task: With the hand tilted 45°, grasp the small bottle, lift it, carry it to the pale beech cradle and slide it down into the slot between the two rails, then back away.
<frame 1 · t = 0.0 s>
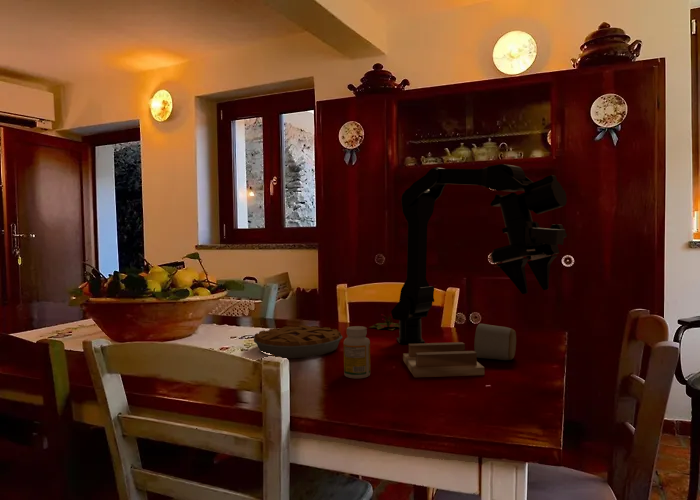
hand: (535, 291, 108), 15 cm above the table, tool pointing down, fingers open, 9 cm apart
beech cradle: (441, 367, 108), on the table
pie: (298, 350, 128), on the table
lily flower: (388, 329, 155), on the table
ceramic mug: (495, 358, 115), on the table
supplement bottle: (357, 376, 103), on the table
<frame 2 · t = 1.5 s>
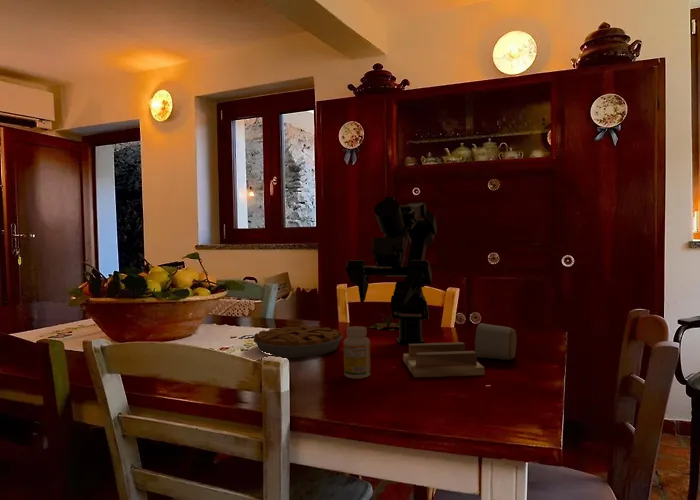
hand: (382, 303, 109), 14 cm above the table, tool tilted 40°, fingers open, 9 cm apart
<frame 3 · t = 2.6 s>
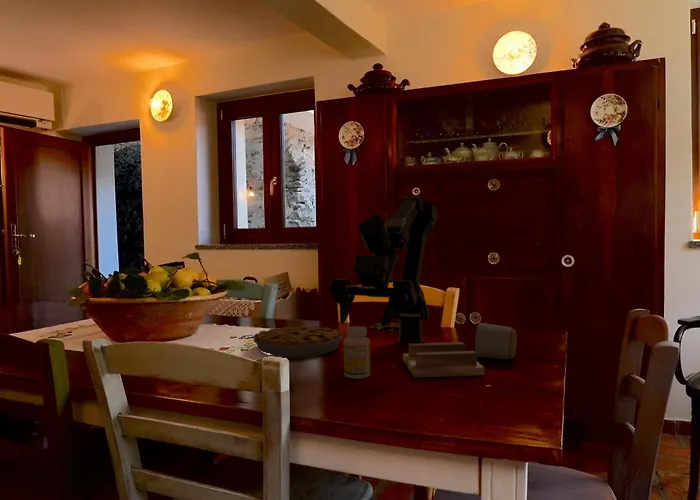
hand: (361, 324, 105), 10 cm above the table, tool tilted 45°, fingers open, 9 cm apart
nothing on the table moved.
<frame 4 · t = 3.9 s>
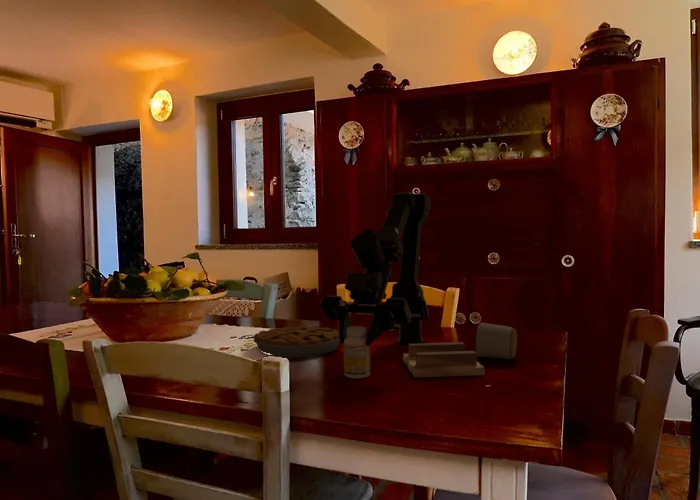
hand: (353, 343, 101), 7 cm above the table, tool tilted 45°, fingers closed on supplement bottle, 5 cm apart
supplement bottle: (357, 376, 103), on the table, touching gripper
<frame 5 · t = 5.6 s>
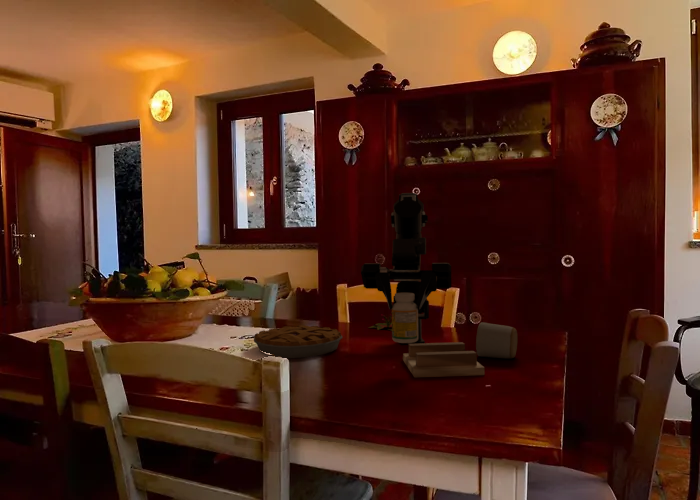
hand: (404, 308, 102), 13 cm above the table, tool tilted 45°, fingers closed on supplement bottle, 5 cm apart
supplement bottle: (405, 341, 104), point 6 cm above the table, touching gripper
when the fingers open (9 cm above the table, at t = 7.3 s): supplement bottle stays where it is, resting on beech cradle.
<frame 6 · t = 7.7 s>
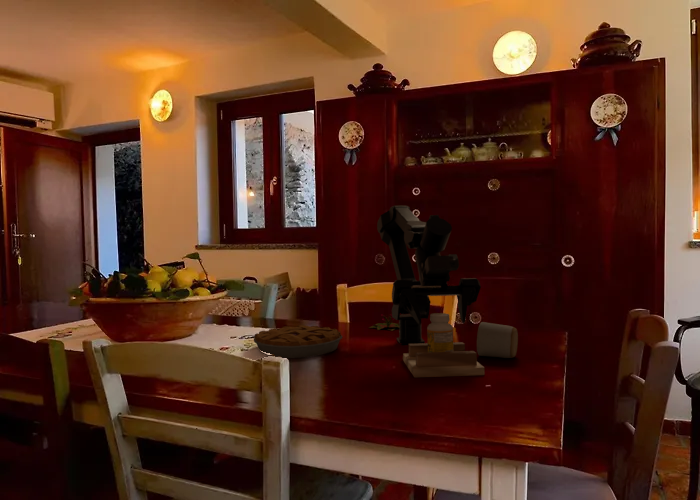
hand: (442, 323, 106), 10 cm above the table, tool tilted 45°, fingers open, 9 cm apart
supplement bottle: (440, 360, 108), point 1 cm above the table, touching beech cradle
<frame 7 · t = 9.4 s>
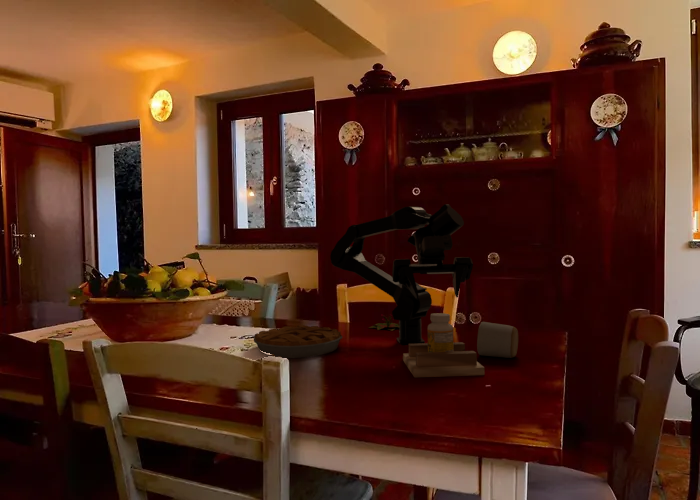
hand: (437, 296, 117), 14 cm above the table, tool tilted 45°, fingers open, 9 cm apart
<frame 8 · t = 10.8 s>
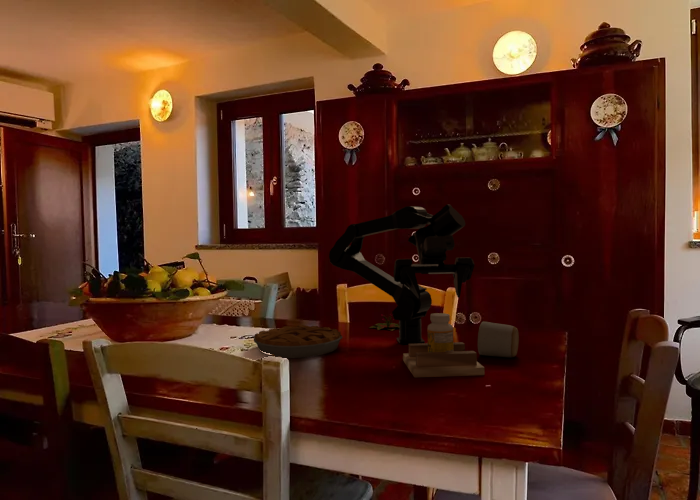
hand: (439, 297, 117), 14 cm above the table, tool tilted 45°, fingers open, 9 cm apart
at the end: supplement bottle inside the target area on the beech cradle (0.1 cm from its centre), point 1.3 cm above the beech cradle's base; supplement bottle tilted 0°; the gripper is holding nothing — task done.
